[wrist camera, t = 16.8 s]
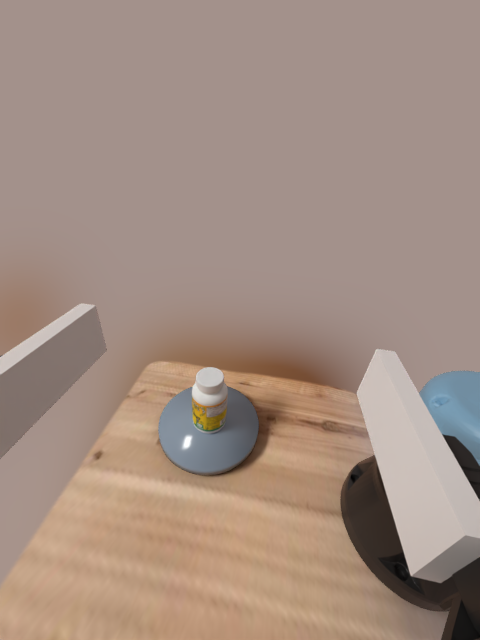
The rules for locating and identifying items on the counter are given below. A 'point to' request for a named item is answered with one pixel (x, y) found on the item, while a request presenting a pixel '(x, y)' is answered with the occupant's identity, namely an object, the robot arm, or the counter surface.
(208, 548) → the counter surface
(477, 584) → the robot arm
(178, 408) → the slate dish
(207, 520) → the counter surface
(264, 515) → the counter surface
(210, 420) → the supplement bottle
